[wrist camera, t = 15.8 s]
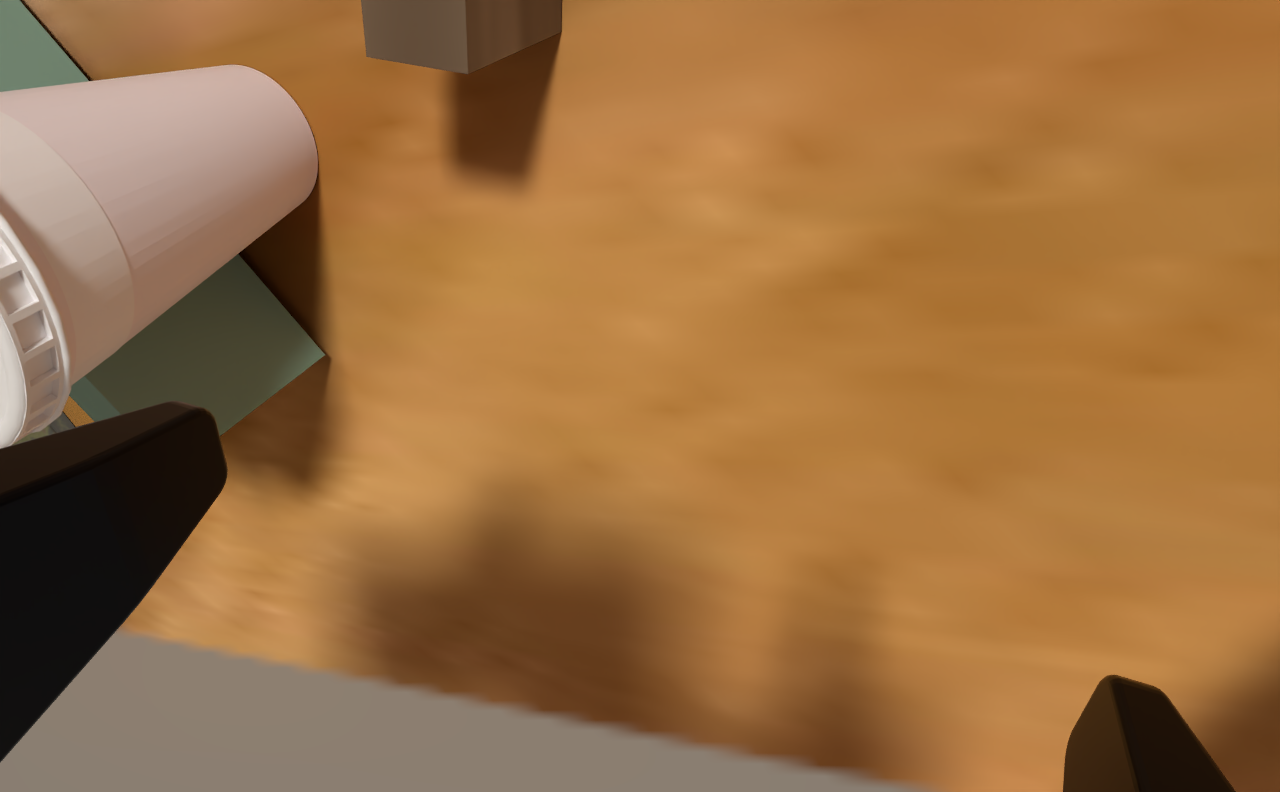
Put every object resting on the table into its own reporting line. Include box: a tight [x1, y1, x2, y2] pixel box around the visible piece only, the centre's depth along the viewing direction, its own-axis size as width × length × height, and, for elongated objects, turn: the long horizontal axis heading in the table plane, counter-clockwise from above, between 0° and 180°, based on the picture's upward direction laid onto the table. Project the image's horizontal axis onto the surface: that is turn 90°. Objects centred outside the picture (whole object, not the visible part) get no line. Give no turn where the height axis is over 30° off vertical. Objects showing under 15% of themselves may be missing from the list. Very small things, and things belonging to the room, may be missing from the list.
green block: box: [0, 0, 325, 436], centre depth 22 cm, size 13×2×6 cm, turn 38°
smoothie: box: [0, 65, 318, 448], centre depth 17 cm, size 6×6×14 cm
